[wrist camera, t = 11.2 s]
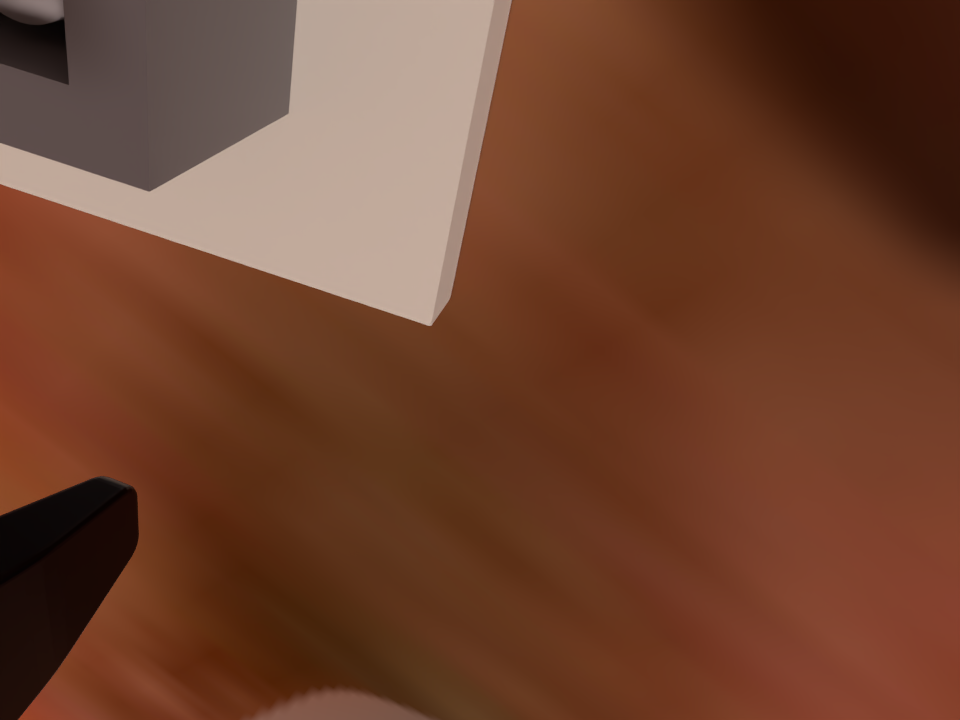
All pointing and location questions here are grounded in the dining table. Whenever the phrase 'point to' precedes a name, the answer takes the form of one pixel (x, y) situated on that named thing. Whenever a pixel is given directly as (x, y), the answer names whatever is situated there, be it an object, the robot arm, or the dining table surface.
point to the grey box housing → (145, 83)
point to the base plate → (329, 156)
